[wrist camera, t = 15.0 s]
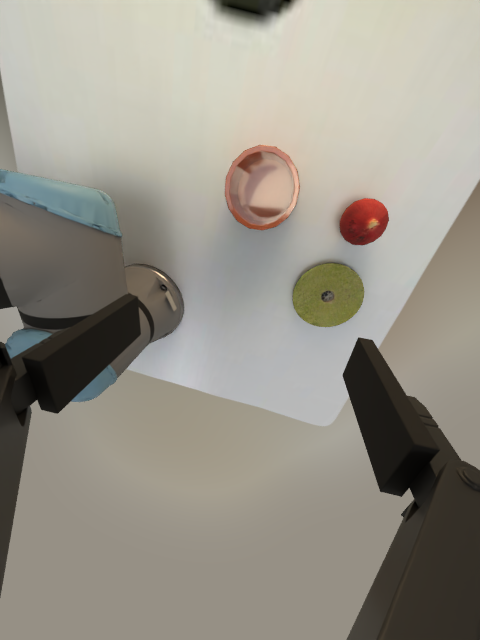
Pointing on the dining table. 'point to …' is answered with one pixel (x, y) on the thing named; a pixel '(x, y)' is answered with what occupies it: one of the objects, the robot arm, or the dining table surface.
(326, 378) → the dining table surface
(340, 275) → the mat
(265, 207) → the flower pot
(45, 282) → the robot arm
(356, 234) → the onion
